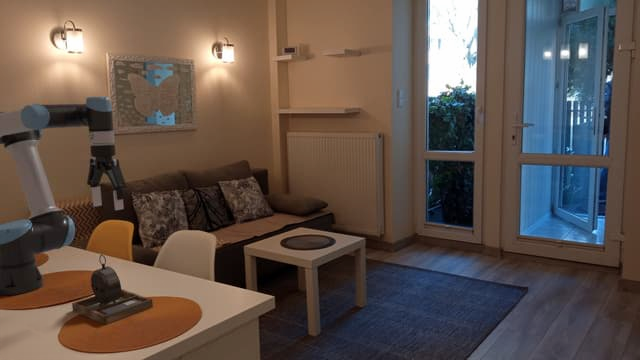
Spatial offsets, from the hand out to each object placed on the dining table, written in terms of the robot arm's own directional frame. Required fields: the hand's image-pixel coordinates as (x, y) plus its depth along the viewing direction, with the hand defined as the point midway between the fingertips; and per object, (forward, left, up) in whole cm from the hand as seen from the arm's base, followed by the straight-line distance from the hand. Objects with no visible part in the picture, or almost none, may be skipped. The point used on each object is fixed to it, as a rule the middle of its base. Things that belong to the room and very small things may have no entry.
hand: (108, 207), depth 173 cm
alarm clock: (+14, -11, -28) cm, 33 cm away
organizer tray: (+17, -11, -29) cm, 35 cm away
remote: (+23, -11, -28) cm, 38 cm away
